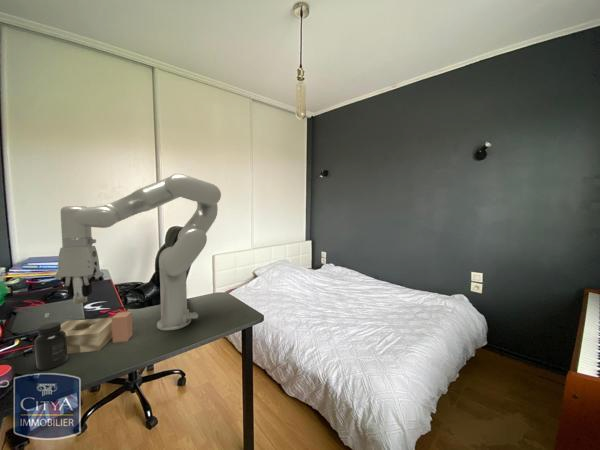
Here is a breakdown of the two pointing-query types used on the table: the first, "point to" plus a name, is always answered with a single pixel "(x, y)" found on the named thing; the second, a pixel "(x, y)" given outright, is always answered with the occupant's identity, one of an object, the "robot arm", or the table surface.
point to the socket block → (87, 334)
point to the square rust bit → (122, 326)
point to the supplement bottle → (50, 346)
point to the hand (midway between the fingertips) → (80, 295)
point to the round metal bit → (78, 290)
